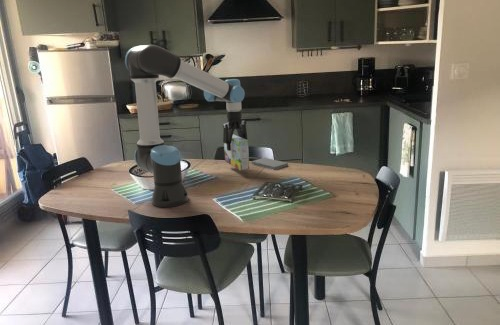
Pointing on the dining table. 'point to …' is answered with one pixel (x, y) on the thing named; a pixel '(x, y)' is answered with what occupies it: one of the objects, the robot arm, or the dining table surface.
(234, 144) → the snack box
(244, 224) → the dining table surface
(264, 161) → the slate board
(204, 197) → the dining table surface
